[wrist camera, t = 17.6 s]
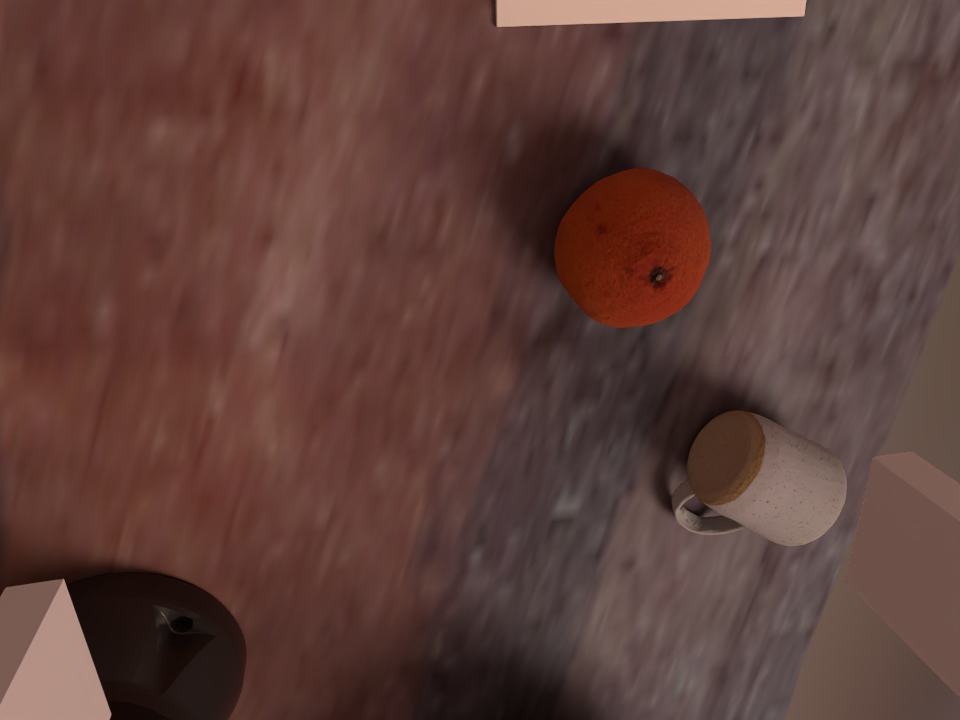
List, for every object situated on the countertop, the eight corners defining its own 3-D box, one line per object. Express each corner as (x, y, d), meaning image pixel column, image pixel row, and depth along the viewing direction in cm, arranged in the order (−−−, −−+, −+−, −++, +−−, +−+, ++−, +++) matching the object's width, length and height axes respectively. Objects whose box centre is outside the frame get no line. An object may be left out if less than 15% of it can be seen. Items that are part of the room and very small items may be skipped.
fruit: (594, 331, 46) (643, 382, 39) (513, 229, 42) (552, 265, 35) (702, 243, 45) (773, 279, 38) (630, 131, 41) (694, 148, 34)
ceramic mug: (721, 386, 50) (783, 441, 43) (802, 426, 52) (872, 484, 46) (639, 501, 53) (685, 571, 46) (720, 534, 55) (774, 604, 49)
